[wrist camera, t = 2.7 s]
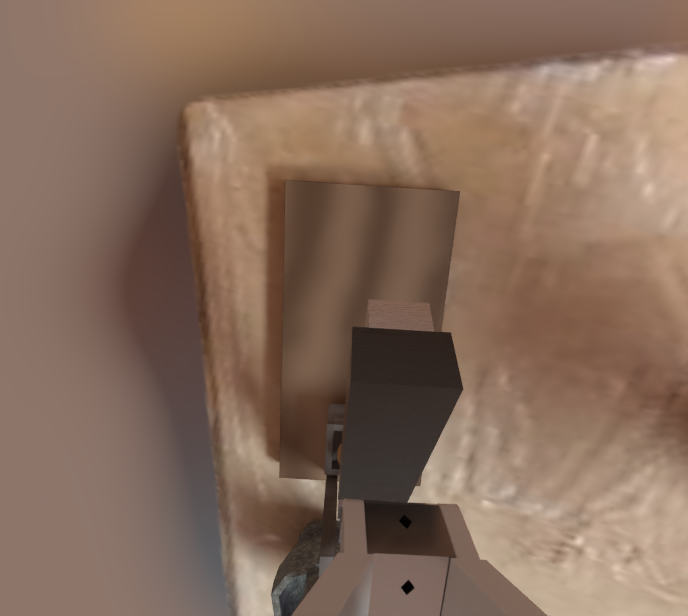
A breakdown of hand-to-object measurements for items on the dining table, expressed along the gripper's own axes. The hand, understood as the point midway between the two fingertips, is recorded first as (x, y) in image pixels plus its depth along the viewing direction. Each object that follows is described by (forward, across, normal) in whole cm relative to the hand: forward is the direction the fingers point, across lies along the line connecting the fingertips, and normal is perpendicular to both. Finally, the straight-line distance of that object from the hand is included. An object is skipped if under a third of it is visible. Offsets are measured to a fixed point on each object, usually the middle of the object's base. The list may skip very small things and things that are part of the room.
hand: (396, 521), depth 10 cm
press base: (+25, 0, +4) cm, 26 cm away
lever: (+11, 0, +5) cm, 12 cm away
